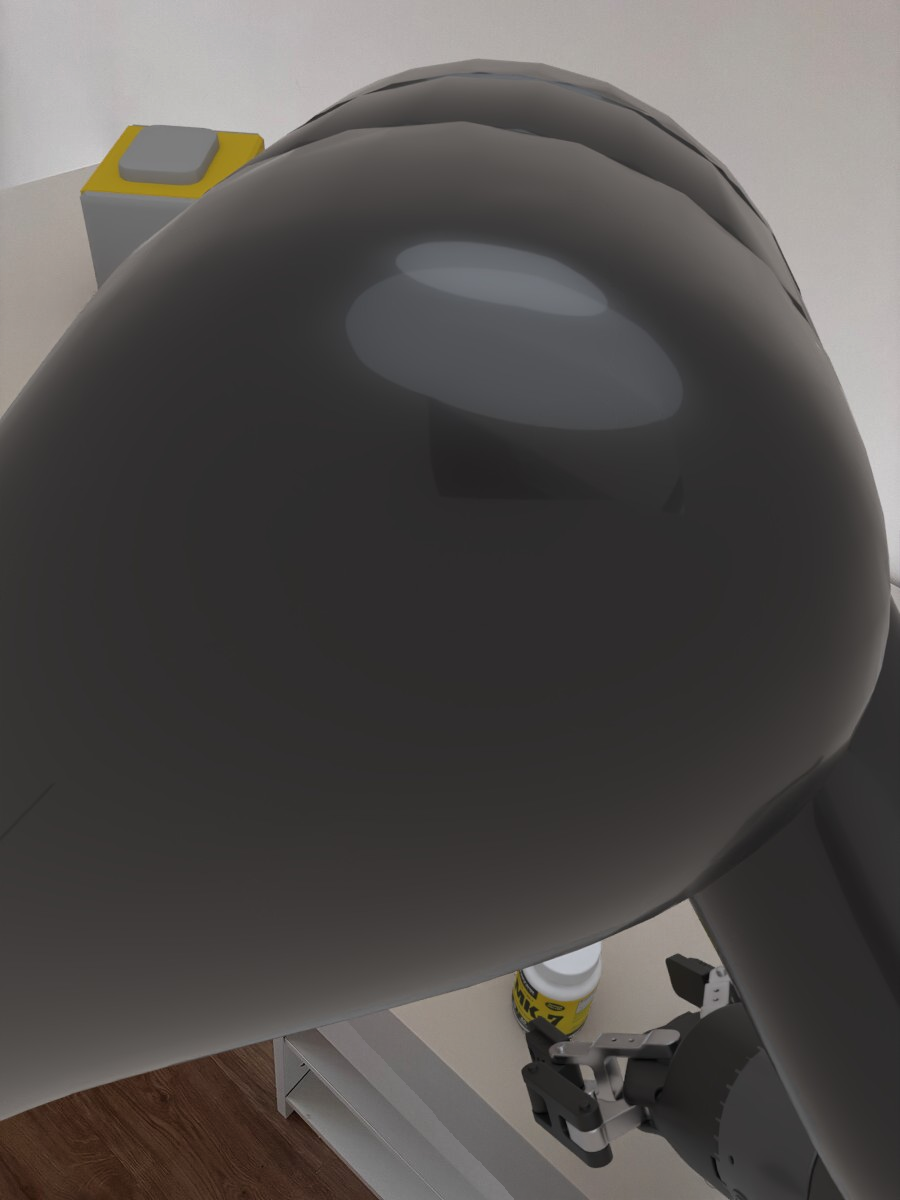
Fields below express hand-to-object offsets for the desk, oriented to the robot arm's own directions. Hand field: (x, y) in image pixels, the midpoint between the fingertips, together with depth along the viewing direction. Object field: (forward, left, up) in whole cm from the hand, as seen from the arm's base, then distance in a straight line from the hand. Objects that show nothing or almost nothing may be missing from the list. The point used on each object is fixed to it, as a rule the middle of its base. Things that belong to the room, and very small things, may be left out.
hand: (607, 1003), depth 57 cm
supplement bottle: (+1, +4, -9) cm, 10 cm away
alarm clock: (+32, +89, -9) cm, 95 cm away
